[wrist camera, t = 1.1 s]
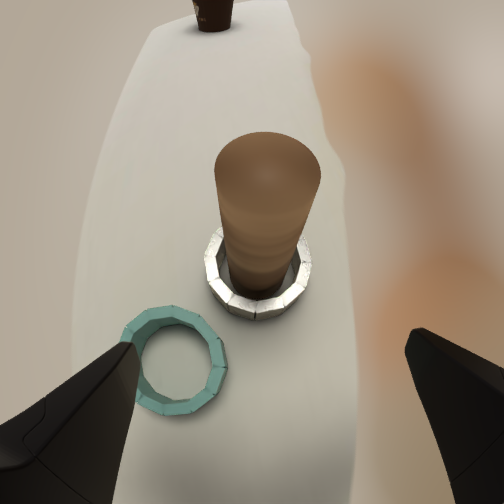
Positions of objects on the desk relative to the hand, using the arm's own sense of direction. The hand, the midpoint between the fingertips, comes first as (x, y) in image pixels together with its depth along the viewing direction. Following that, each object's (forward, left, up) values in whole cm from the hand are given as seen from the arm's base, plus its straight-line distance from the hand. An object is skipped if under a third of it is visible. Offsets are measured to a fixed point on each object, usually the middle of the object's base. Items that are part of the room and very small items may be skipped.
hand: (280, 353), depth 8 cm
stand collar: (+7, -1, -13) cm, 15 cm away
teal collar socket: (+1, +6, -13) cm, 15 cm away
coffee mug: (+61, -4, -14) cm, 63 cm away
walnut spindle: (+7, -1, -13) cm, 15 cm away
